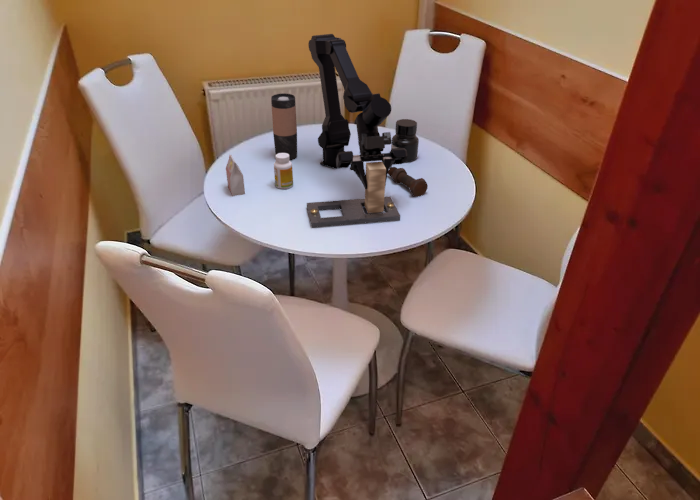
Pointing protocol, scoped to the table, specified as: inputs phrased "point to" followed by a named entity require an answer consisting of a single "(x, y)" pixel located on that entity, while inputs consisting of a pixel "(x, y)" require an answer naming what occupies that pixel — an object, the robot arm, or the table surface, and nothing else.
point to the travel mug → (284, 124)
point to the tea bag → (234, 178)
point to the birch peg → (375, 187)
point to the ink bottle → (406, 138)
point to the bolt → (408, 181)
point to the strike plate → (350, 213)
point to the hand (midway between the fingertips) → (375, 188)
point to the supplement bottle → (283, 171)
